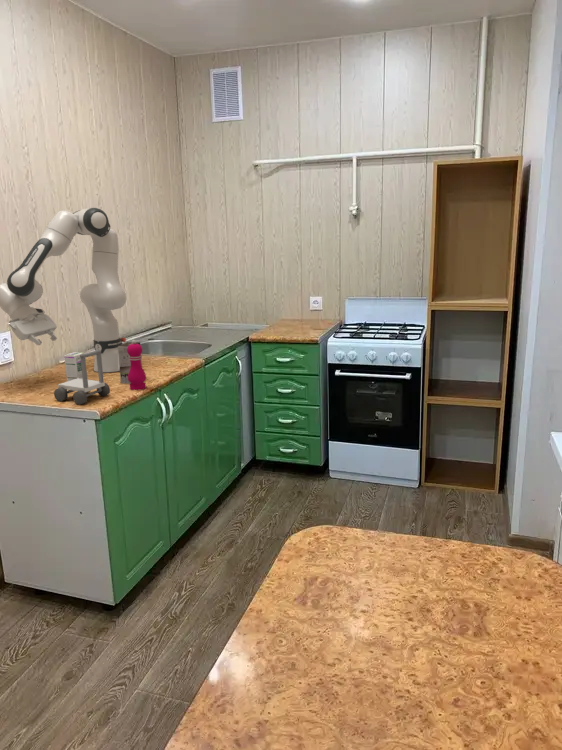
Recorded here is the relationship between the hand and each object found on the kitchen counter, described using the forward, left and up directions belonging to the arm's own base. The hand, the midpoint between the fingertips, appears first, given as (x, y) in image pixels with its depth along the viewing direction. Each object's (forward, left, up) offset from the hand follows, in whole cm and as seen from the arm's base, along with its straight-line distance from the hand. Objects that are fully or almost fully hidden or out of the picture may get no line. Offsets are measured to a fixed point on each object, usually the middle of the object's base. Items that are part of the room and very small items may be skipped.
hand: (47, 341), depth 238 cm
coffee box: (-20, +25, -19) cm, 37 cm away
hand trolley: (+8, +25, -19) cm, 32 cm away
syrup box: (-2, +12, -19) cm, 23 cm away
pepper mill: (-12, +35, -19) cm, 42 cm away
